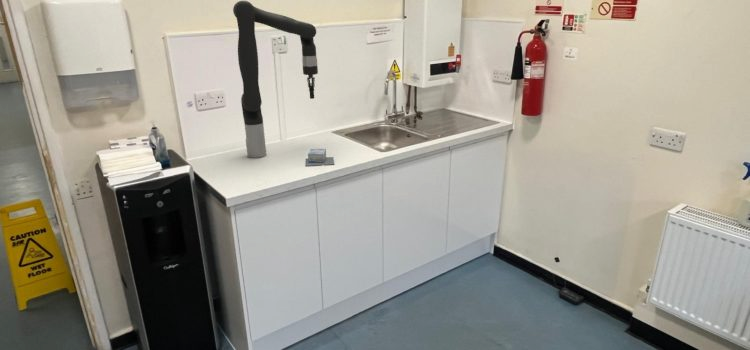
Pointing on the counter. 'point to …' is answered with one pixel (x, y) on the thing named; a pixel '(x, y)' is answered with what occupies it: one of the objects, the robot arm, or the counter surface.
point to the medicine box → (317, 155)
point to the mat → (327, 162)
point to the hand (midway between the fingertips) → (312, 98)
